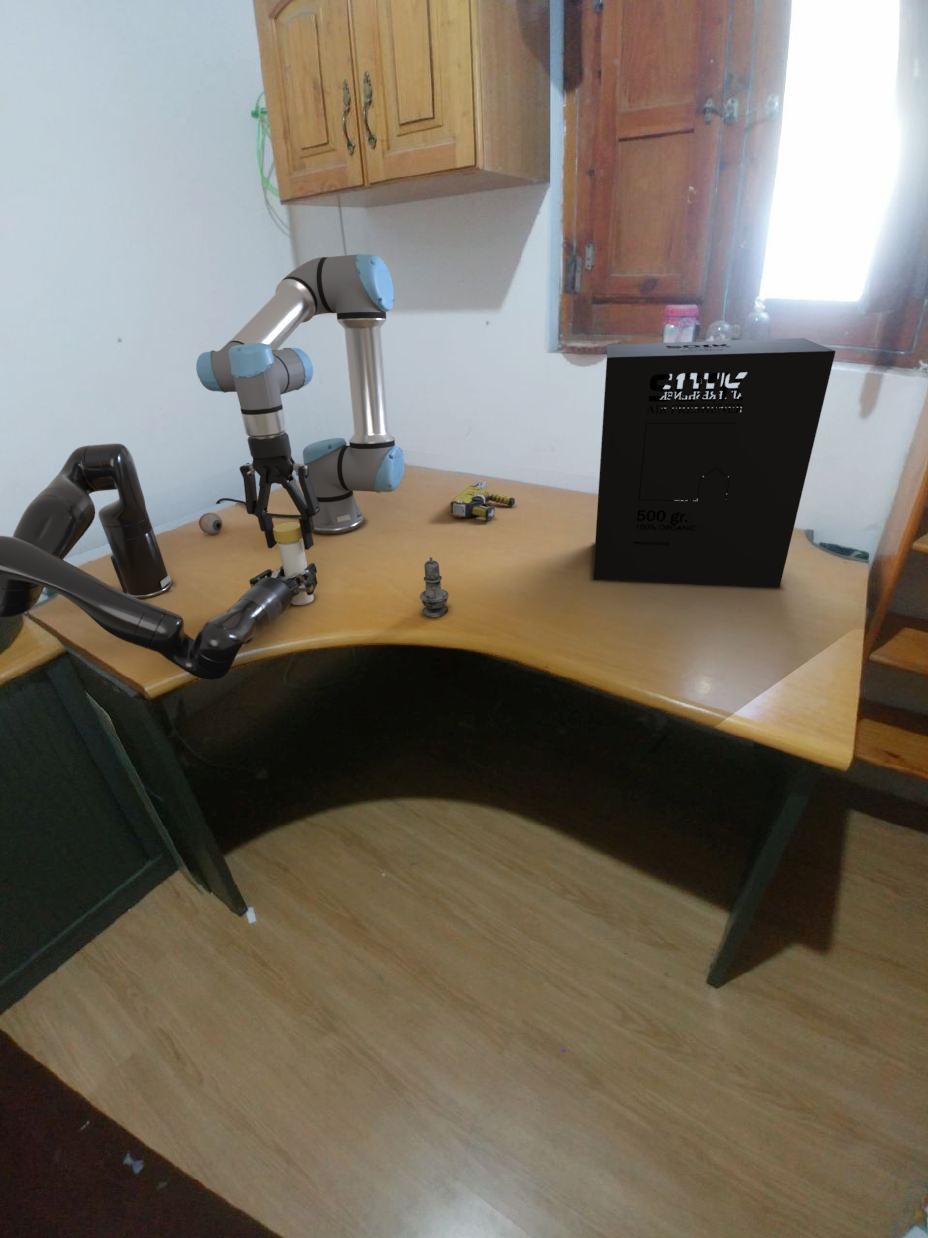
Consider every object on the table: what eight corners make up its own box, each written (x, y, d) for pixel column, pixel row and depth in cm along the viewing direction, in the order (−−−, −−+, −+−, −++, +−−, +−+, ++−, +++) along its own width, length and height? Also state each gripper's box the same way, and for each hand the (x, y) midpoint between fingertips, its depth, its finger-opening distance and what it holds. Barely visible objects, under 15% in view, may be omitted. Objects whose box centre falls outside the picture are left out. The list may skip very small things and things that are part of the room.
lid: (269, 542, 122) (267, 531, 121) (283, 532, 127) (281, 521, 126) (294, 544, 121) (292, 532, 120) (308, 533, 126) (306, 522, 124)
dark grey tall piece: (446, 618, 120) (442, 563, 114) (417, 616, 122) (412, 562, 116) (452, 604, 125) (448, 551, 119) (425, 602, 126) (420, 550, 120)
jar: (302, 592, 134) (288, 524, 126) (318, 597, 132) (304, 528, 124) (285, 602, 131) (270, 532, 123) (301, 607, 128) (286, 536, 120)
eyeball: (212, 539, 164) (206, 518, 161) (197, 535, 167) (191, 515, 164) (230, 531, 169) (224, 511, 166) (215, 528, 172) (210, 508, 169)
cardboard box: (759, 548, 141) (803, 338, 119) (779, 587, 124) (835, 350, 102) (595, 543, 149) (607, 344, 126) (593, 579, 132) (607, 357, 109)
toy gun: (523, 485, 181) (476, 478, 185) (501, 509, 161) (448, 500, 165) (521, 500, 184) (475, 493, 187) (499, 525, 163) (447, 517, 167)
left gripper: (234, 618, 119) (275, 580, 133) (300, 623, 116) (335, 583, 130) (224, 584, 115) (268, 549, 130) (293, 588, 112) (330, 551, 127)
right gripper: (325, 429, 114) (343, 540, 126) (229, 429, 119) (255, 537, 130) (308, 439, 108) (329, 555, 120) (207, 439, 112) (237, 551, 124)
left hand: (301, 566), depth 130 cm, fingers closed on jar, 5 cm apart
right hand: (290, 546), depth 125 cm, fingers open, 7 cm apart
